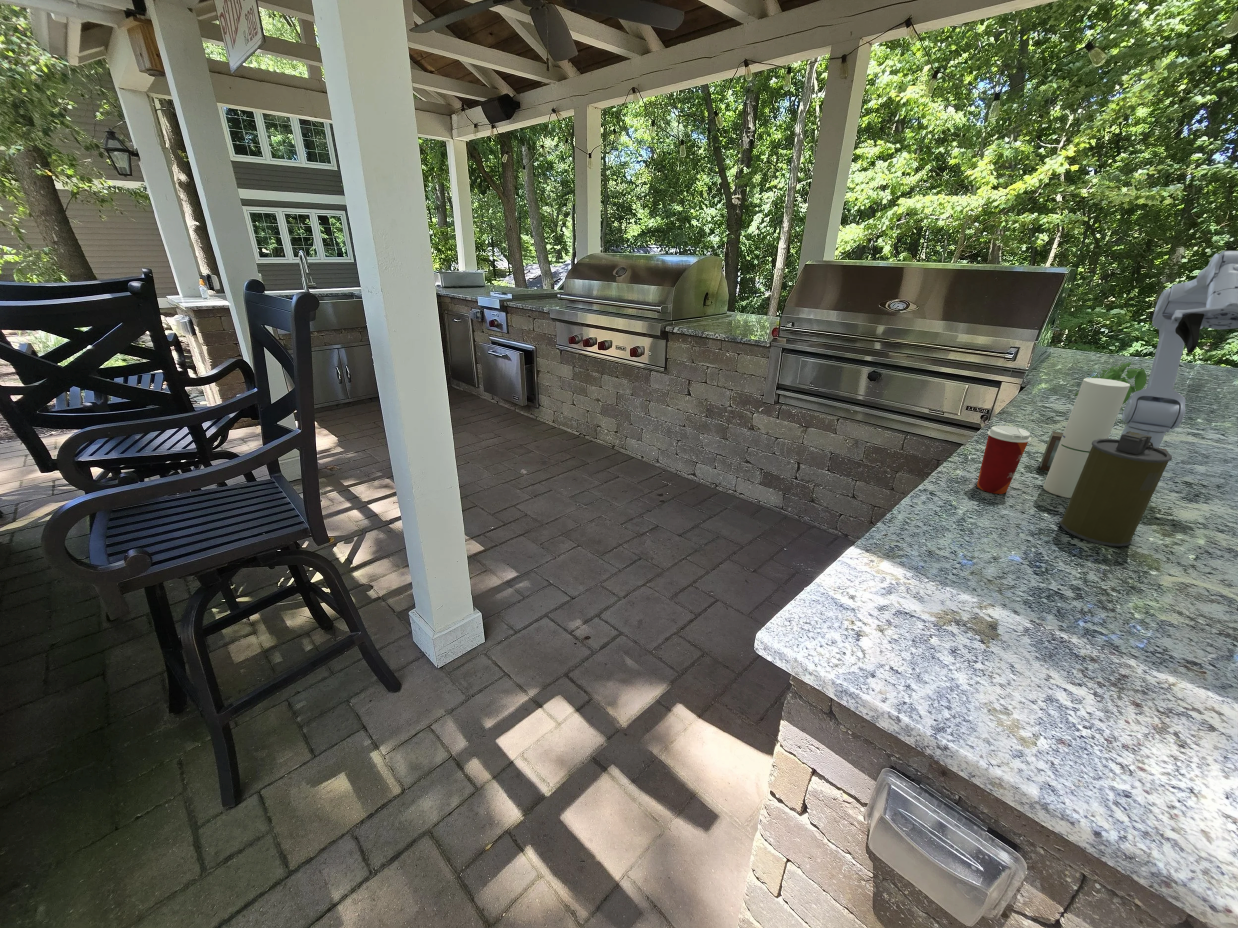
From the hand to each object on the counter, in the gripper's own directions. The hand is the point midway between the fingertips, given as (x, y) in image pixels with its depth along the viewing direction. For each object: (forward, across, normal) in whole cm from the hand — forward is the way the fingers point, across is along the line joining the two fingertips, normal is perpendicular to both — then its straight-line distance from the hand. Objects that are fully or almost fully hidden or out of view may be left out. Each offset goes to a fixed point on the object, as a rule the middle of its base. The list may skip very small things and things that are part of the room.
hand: (1220, 352), depth 96 cm
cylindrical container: (+26, -15, +20) cm, 36 cm away
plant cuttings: (-25, -1, +65) cm, 70 cm away
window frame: (+15, -9, +29) cm, 34 cm away
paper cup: (+32, -28, +14) cm, 45 cm away
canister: (+40, -11, +7) cm, 42 cm away
